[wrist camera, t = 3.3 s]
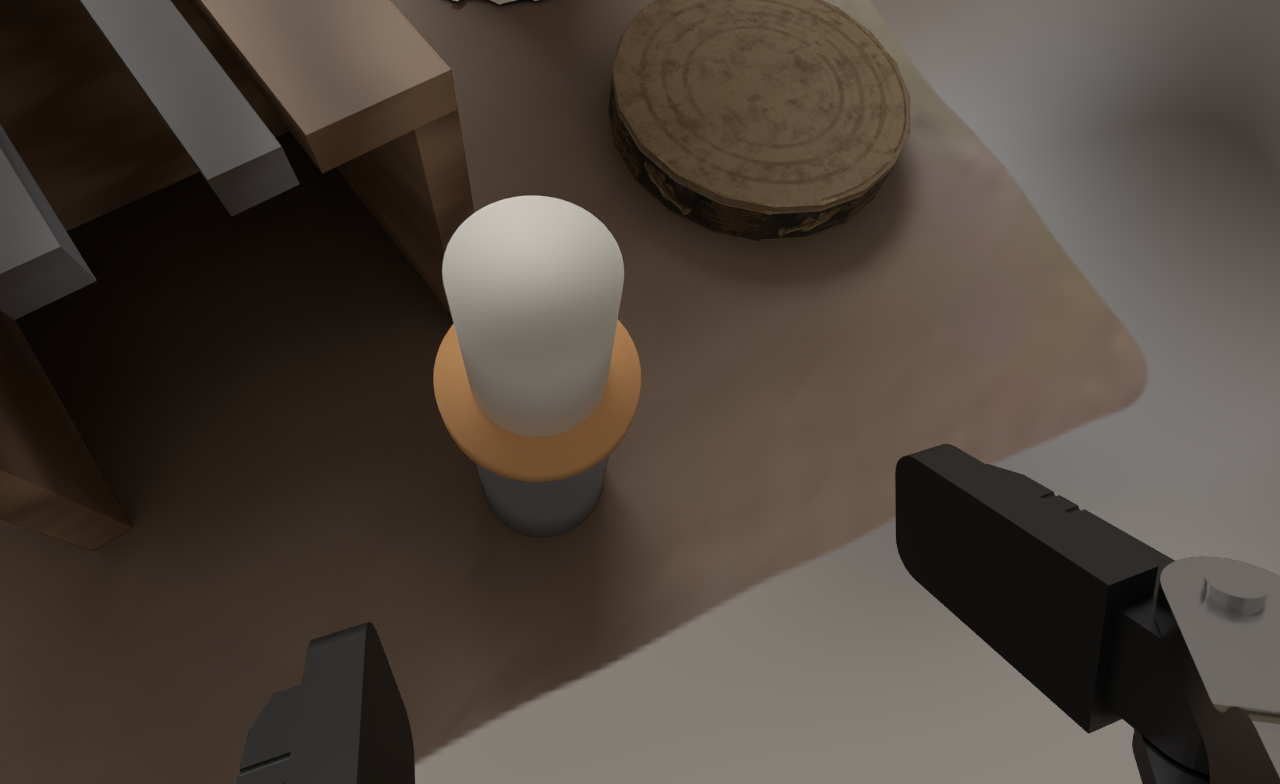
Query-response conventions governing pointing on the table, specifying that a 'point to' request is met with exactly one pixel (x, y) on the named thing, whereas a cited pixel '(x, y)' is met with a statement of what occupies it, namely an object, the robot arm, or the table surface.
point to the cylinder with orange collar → (536, 358)
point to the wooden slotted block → (192, 168)
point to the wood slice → (757, 113)
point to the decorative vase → (501, 1)
